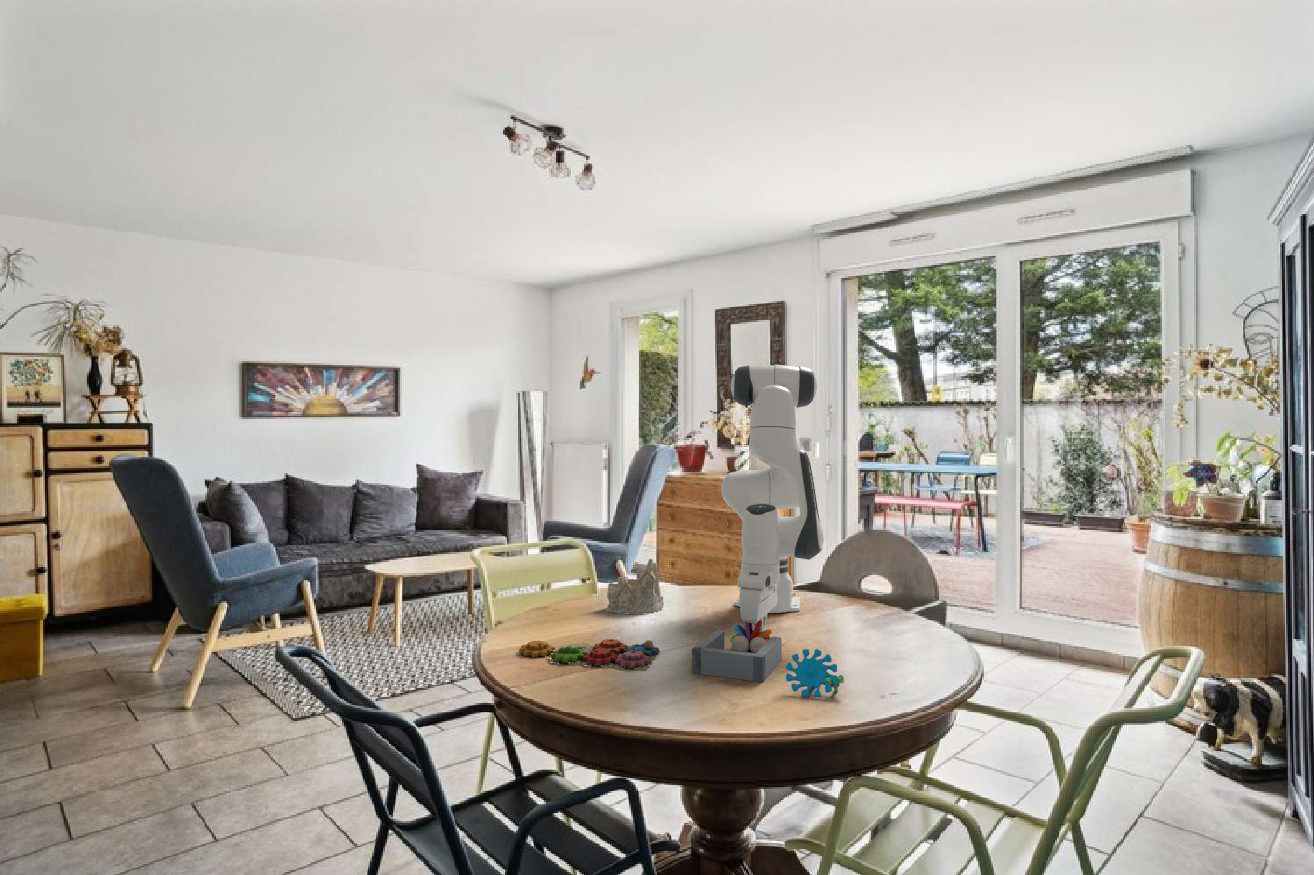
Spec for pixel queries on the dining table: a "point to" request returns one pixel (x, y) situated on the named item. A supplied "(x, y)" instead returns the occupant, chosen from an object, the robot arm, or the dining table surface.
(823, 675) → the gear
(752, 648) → the multicoloured rounded-lobe toy
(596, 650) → the gear puzzle
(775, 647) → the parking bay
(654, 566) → the ceramic cottage
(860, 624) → the dining table surface
